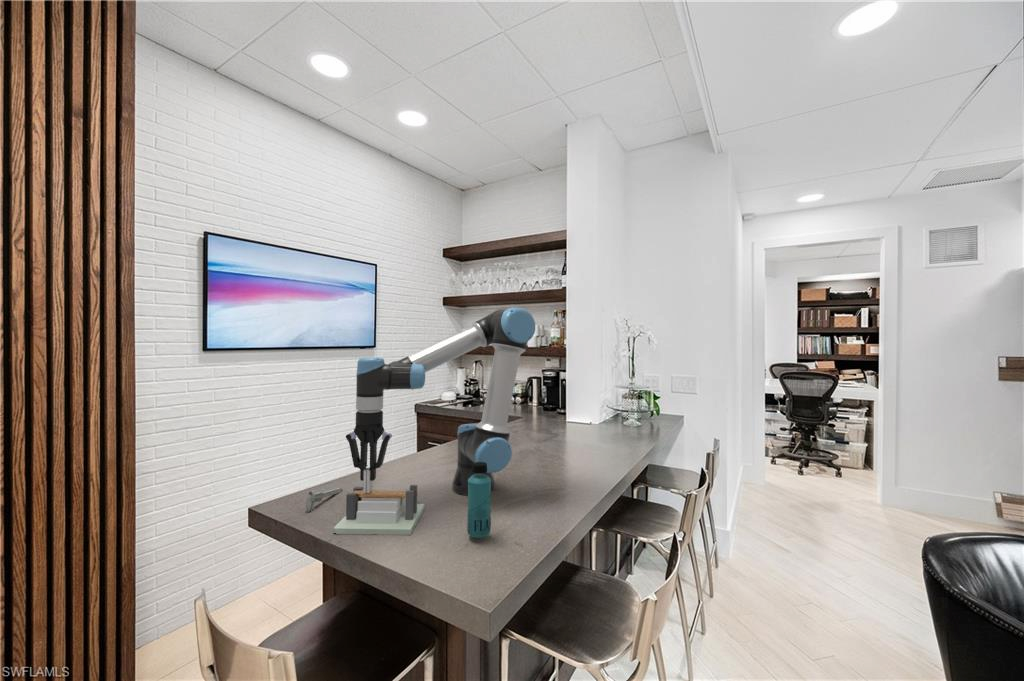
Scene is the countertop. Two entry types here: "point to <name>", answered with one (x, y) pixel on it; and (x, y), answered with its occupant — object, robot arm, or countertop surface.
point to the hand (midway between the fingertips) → (367, 491)
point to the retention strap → (381, 494)
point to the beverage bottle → (479, 502)
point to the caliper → (318, 497)
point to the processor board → (380, 527)
